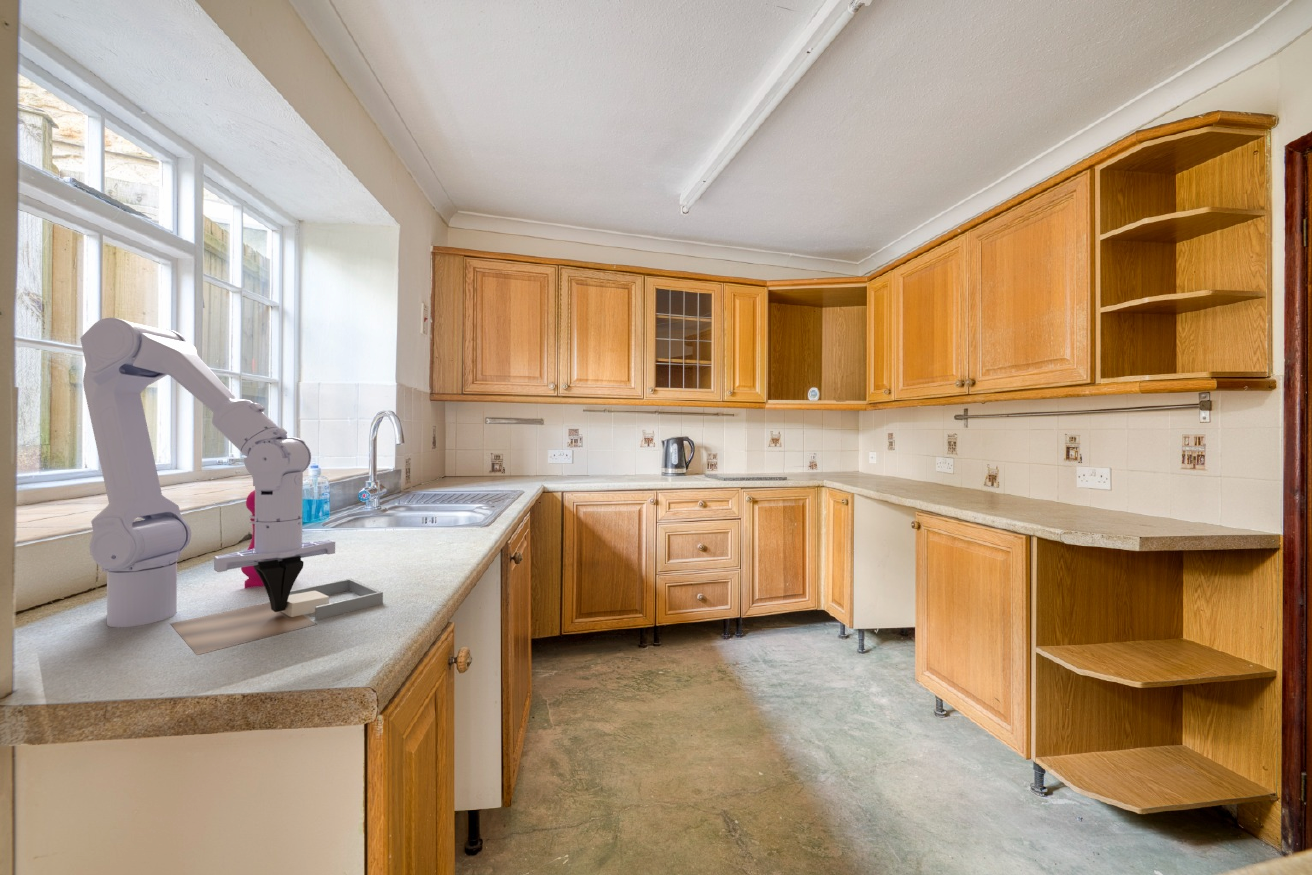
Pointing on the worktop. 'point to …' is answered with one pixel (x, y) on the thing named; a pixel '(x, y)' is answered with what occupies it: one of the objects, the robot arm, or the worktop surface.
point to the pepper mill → (251, 547)
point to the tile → (304, 603)
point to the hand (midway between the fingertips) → (278, 609)
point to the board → (237, 627)
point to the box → (365, 600)
